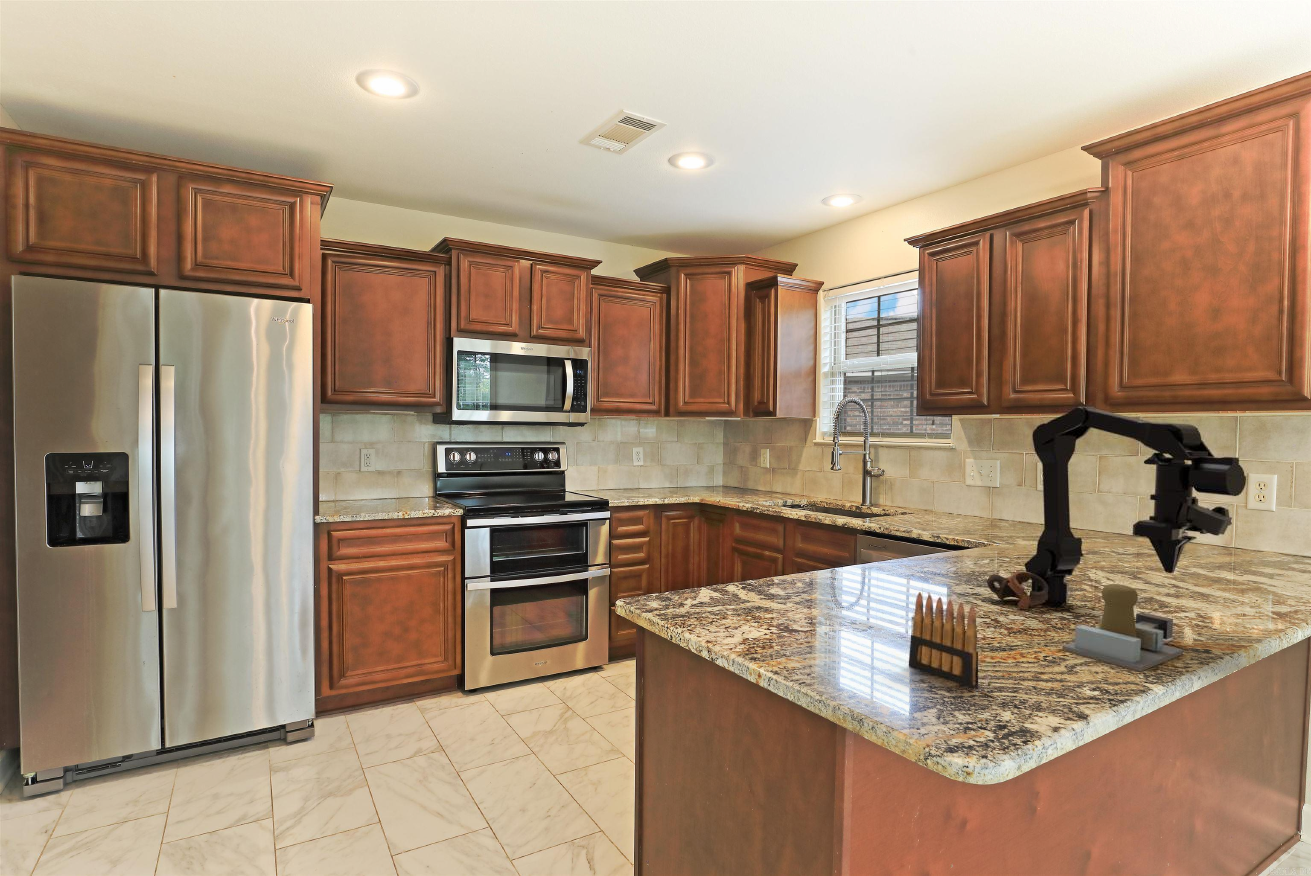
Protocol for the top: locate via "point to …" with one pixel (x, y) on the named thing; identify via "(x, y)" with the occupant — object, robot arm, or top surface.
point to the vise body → (1118, 649)
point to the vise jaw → (1152, 630)
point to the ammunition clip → (945, 642)
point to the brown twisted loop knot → (1019, 588)
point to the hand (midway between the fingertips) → (1169, 572)
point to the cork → (1119, 609)
